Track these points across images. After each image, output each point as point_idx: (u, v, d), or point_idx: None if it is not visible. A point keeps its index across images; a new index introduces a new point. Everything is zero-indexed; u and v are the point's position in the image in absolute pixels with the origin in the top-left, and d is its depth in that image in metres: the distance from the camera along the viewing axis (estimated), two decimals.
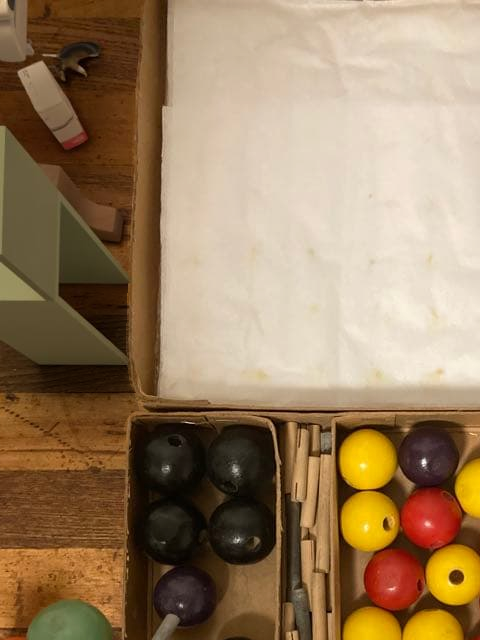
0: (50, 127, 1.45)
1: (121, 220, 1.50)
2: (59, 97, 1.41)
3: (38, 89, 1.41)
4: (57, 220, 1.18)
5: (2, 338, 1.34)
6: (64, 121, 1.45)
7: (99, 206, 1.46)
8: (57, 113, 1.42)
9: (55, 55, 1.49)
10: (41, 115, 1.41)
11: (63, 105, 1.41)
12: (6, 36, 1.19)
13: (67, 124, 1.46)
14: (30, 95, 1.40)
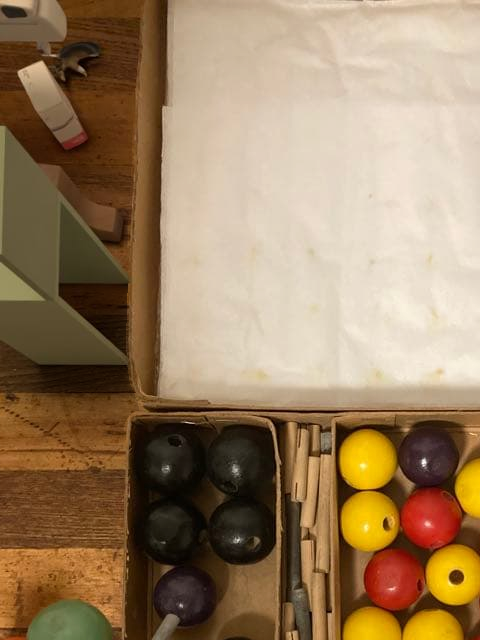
0: (50, 127, 1.45)
1: (121, 220, 1.50)
2: (59, 97, 1.41)
3: (38, 89, 1.41)
4: (57, 220, 1.18)
5: (2, 338, 1.34)
6: (64, 121, 1.45)
7: (99, 206, 1.46)
8: (57, 113, 1.42)
9: (55, 55, 1.49)
10: (41, 115, 1.41)
11: (63, 105, 1.41)
12: None
13: (67, 124, 1.46)
14: (30, 95, 1.40)
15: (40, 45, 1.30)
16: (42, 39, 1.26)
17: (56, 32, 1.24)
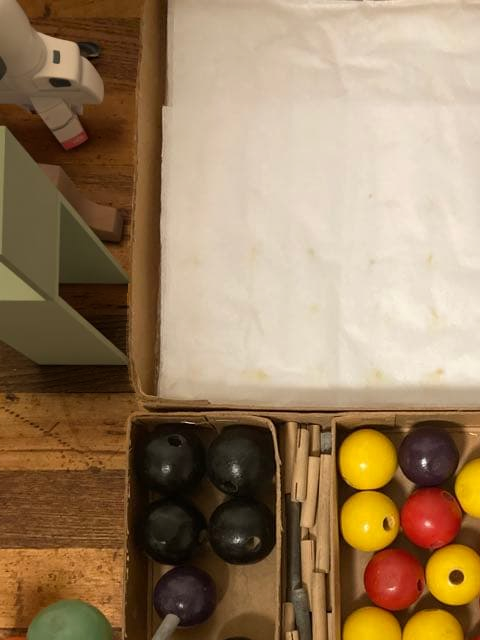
0: (50, 127, 1.45)
1: (121, 220, 1.50)
2: None
3: None
4: (57, 220, 1.18)
5: (2, 338, 1.34)
6: (64, 121, 1.45)
7: (99, 206, 1.46)
8: (57, 113, 1.42)
9: None
10: (41, 115, 1.41)
11: (63, 105, 1.41)
12: (90, 67, 1.38)
13: (67, 124, 1.46)
14: None
15: (74, 106, 1.46)
16: (82, 102, 1.42)
17: (95, 97, 1.40)
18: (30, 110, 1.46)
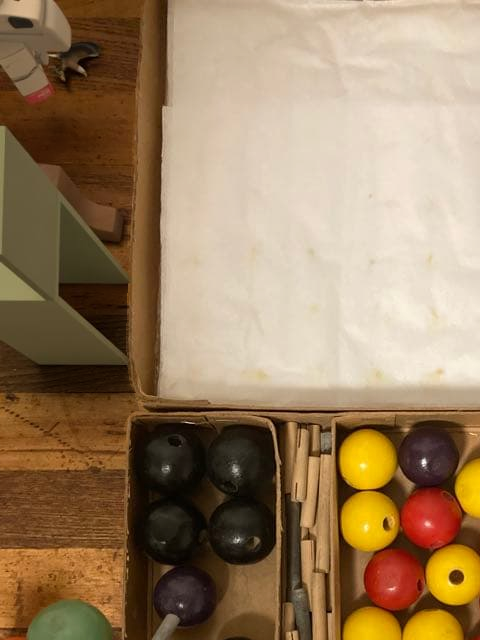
0: (11, 77, 1.30)
1: (121, 220, 1.50)
2: None
3: None
4: (57, 220, 1.18)
5: (2, 338, 1.34)
6: (27, 70, 1.30)
7: (99, 206, 1.46)
8: (19, 60, 1.28)
9: (55, 55, 1.49)
10: (1, 62, 1.27)
11: (25, 51, 1.27)
12: (55, 8, 1.23)
13: (31, 74, 1.32)
14: None
15: (38, 55, 1.32)
16: (47, 49, 1.28)
17: (61, 42, 1.26)
18: None
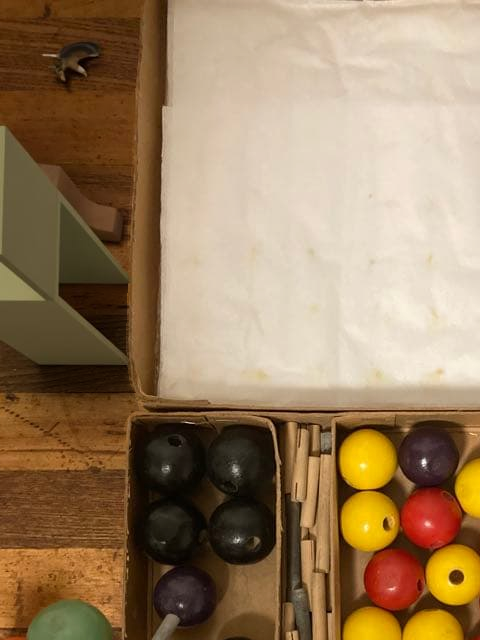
0: None
1: (121, 220, 1.50)
2: None
3: None
4: (57, 220, 1.18)
5: (2, 338, 1.34)
6: None
7: (99, 206, 1.46)
8: None
9: (55, 55, 1.49)
10: None
11: None
12: None
13: None
14: None
15: None
16: None
17: None
18: None
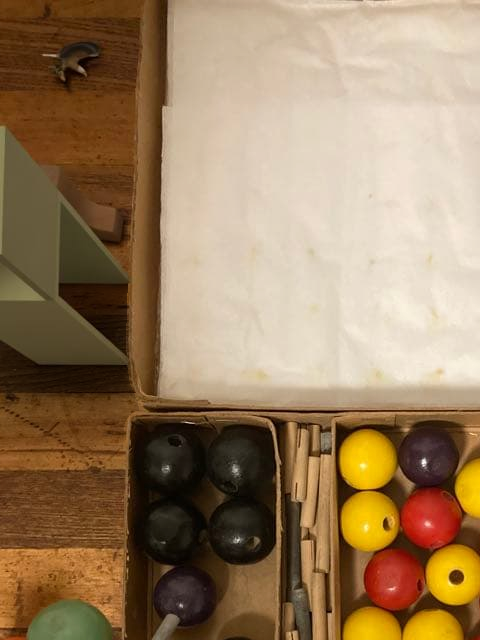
0: None
1: (121, 220, 1.50)
2: None
3: None
4: (57, 220, 1.18)
5: (2, 338, 1.34)
6: None
7: (99, 206, 1.46)
8: None
9: (55, 55, 1.49)
10: None
11: None
12: None
13: None
14: None
15: None
16: None
17: None
18: None
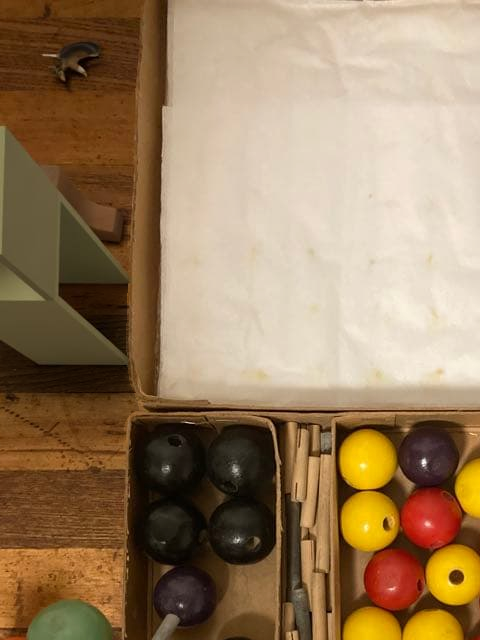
0: None
1: (121, 220, 1.50)
2: None
3: None
4: (57, 220, 1.18)
5: (2, 338, 1.34)
6: None
7: (99, 206, 1.46)
8: None
9: (55, 55, 1.49)
10: None
11: None
12: None
13: None
14: None
15: None
16: None
17: None
18: None
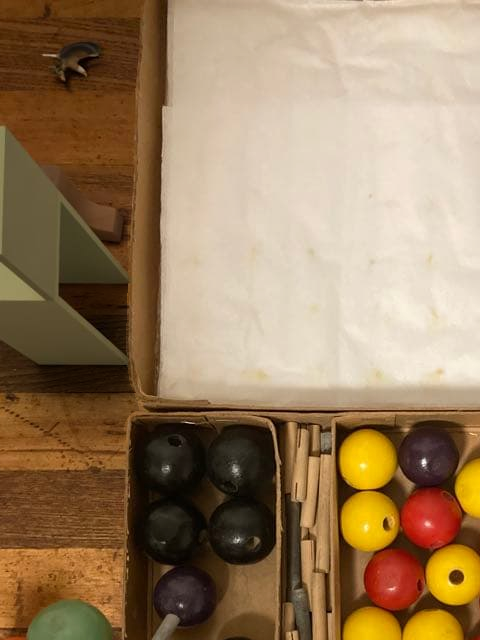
0: None
1: (121, 220, 1.50)
2: None
3: None
4: (57, 220, 1.18)
5: (2, 338, 1.34)
6: None
7: (99, 206, 1.46)
8: None
9: (55, 55, 1.49)
10: None
11: None
12: None
13: None
14: None
15: None
16: None
17: None
18: None
